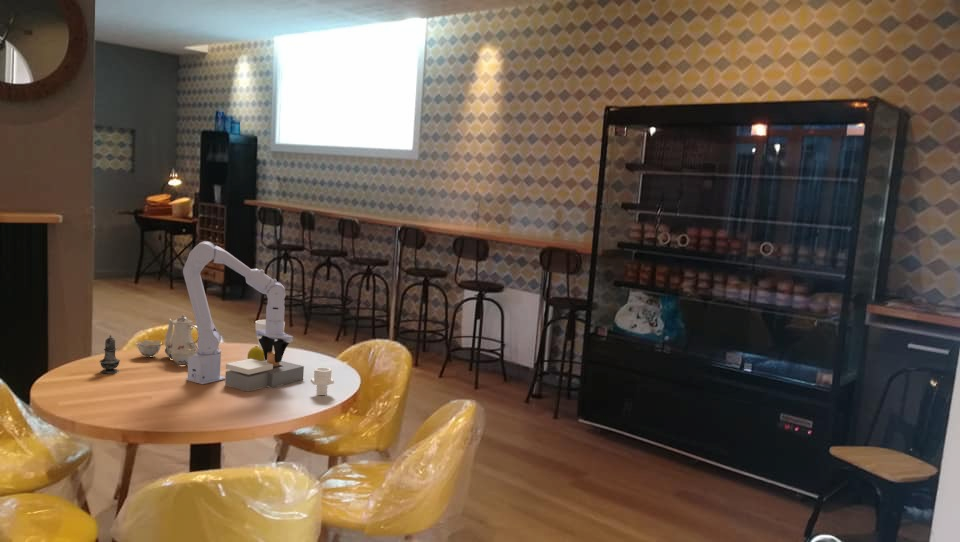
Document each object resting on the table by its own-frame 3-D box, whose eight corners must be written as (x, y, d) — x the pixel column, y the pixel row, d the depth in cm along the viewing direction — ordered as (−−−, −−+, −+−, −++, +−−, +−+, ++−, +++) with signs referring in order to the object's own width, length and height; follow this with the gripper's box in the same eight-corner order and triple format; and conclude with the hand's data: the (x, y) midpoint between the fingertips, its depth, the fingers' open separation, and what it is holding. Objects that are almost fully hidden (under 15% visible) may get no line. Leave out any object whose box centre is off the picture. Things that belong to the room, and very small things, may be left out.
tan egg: (282, 364, 232) (282, 353, 232) (272, 367, 229) (273, 354, 228) (273, 362, 234) (273, 351, 234) (264, 364, 231) (264, 352, 230)
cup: (247, 358, 256) (249, 322, 255) (264, 353, 266) (266, 318, 265) (272, 362, 253) (274, 325, 252) (288, 357, 263) (290, 321, 262)
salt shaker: (123, 370, 229) (124, 334, 228) (112, 374, 223) (113, 337, 222) (106, 368, 230) (107, 332, 229) (95, 373, 224) (95, 335, 223)
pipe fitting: (337, 394, 221) (338, 369, 220) (320, 398, 215) (322, 373, 214) (322, 390, 224) (323, 365, 223) (305, 394, 218) (307, 369, 217)
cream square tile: (248, 374, 216) (248, 369, 216) (225, 368, 221) (226, 363, 221) (272, 369, 225) (273, 364, 225) (250, 363, 229) (250, 358, 229)
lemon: (260, 371, 241) (261, 348, 240) (244, 369, 241) (245, 346, 240) (265, 367, 247) (266, 344, 246) (250, 366, 247) (251, 343, 246)
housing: (252, 392, 216) (253, 378, 215) (220, 384, 222) (221, 370, 222) (303, 379, 235) (303, 366, 234) (272, 371, 241) (272, 358, 241)
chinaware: (126, 362, 246) (123, 316, 243) (164, 349, 261) (162, 305, 258) (187, 375, 235) (184, 327, 232) (223, 361, 250) (221, 316, 247)
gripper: (300, 321, 230) (298, 362, 231) (267, 315, 237) (266, 354, 238) (284, 324, 224) (282, 366, 225) (251, 317, 231) (250, 358, 232)
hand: (273, 360), depth 231 cm, fingers closed on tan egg, 4 cm apart
